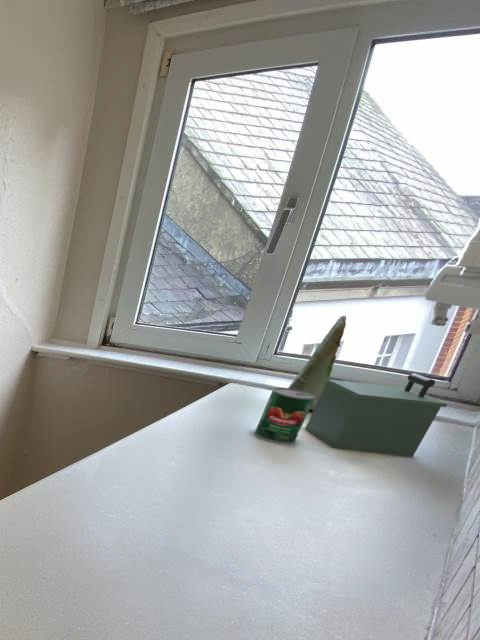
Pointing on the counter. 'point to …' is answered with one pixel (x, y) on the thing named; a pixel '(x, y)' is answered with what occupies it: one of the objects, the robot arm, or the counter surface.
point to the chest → (369, 423)
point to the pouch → (320, 363)
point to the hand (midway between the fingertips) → (453, 329)
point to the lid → (392, 391)
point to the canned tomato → (284, 415)
